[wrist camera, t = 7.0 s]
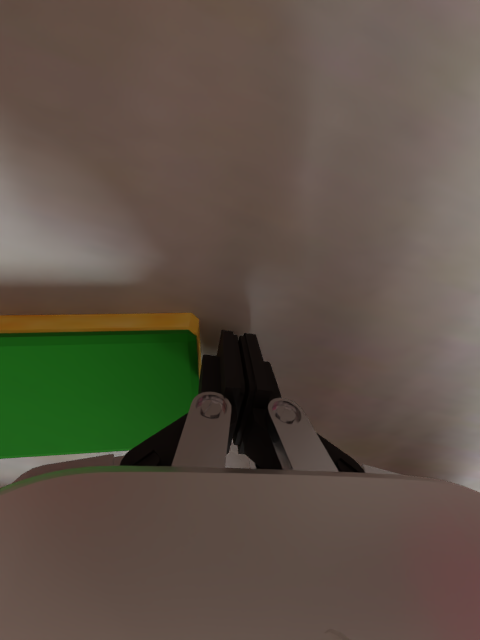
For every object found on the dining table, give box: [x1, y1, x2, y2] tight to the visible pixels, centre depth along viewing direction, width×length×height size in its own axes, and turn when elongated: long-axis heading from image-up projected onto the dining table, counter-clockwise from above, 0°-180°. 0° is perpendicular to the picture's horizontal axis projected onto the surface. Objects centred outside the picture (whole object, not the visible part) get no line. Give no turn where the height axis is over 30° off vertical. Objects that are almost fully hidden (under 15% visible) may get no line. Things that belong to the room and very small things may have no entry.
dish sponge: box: [0, 313, 201, 459], centre depth 12 cm, size 7×14×2 cm, turn 88°
